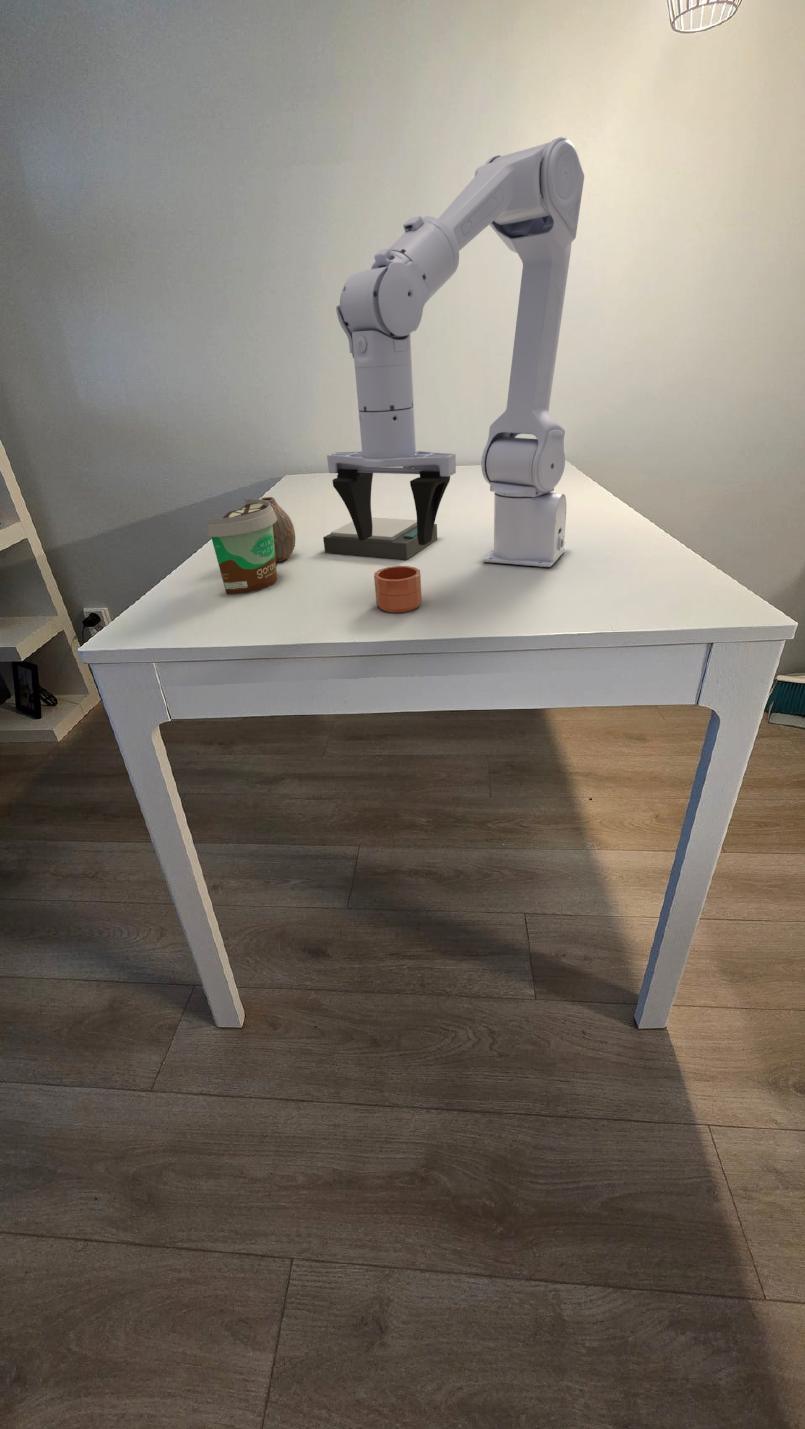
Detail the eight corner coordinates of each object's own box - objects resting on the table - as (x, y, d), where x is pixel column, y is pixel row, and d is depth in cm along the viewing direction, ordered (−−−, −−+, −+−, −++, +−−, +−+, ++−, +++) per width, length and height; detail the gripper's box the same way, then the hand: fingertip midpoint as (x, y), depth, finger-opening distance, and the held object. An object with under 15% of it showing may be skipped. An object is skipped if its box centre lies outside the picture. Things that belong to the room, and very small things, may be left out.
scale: (437, 539, 101) (436, 520, 99) (407, 560, 92) (405, 539, 91) (360, 533, 106) (358, 515, 105) (324, 552, 98) (322, 533, 97)
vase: (243, 564, 96) (232, 503, 91) (268, 550, 101) (259, 493, 97) (283, 566, 93) (273, 505, 89) (306, 553, 99) (298, 494, 94)
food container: (265, 599, 82) (251, 519, 77) (221, 598, 83) (204, 520, 78) (298, 568, 92) (288, 496, 87) (258, 568, 93) (246, 497, 88)
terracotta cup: (429, 599, 78) (427, 567, 76) (409, 616, 74) (407, 582, 72) (389, 595, 80) (387, 564, 78) (368, 611, 76) (365, 578, 74)
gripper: (306, 414, 66) (322, 545, 73) (434, 412, 60) (439, 555, 67) (341, 406, 71) (353, 529, 78) (462, 404, 66) (464, 537, 72)
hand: (394, 540), depth 73 cm, fingers open, 7 cm apart
